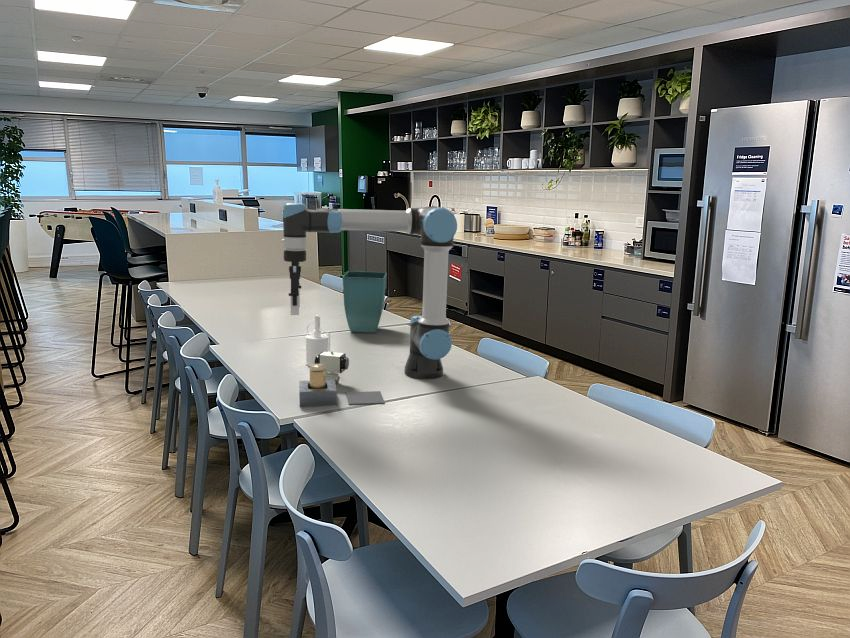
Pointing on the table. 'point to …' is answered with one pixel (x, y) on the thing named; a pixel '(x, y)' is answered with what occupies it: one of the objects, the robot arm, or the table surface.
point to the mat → (365, 398)
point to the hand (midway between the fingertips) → (295, 310)
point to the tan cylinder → (317, 376)
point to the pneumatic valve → (333, 364)
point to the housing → (317, 394)
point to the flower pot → (364, 299)
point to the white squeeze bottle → (316, 342)
